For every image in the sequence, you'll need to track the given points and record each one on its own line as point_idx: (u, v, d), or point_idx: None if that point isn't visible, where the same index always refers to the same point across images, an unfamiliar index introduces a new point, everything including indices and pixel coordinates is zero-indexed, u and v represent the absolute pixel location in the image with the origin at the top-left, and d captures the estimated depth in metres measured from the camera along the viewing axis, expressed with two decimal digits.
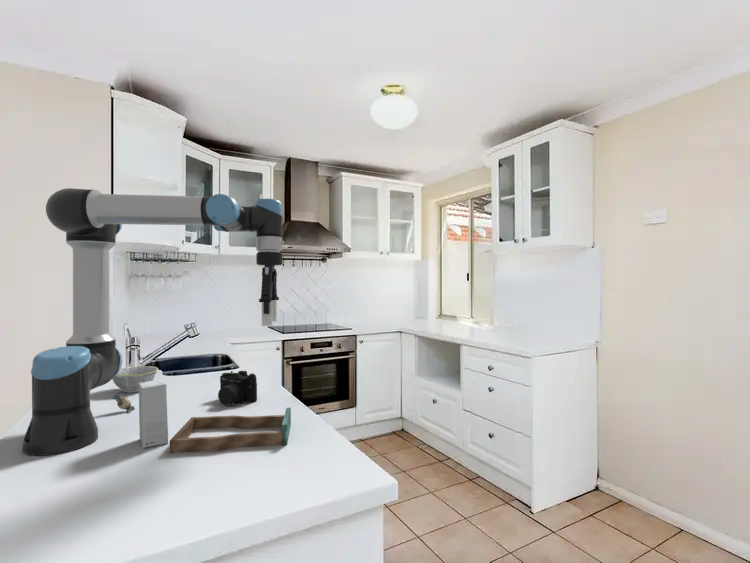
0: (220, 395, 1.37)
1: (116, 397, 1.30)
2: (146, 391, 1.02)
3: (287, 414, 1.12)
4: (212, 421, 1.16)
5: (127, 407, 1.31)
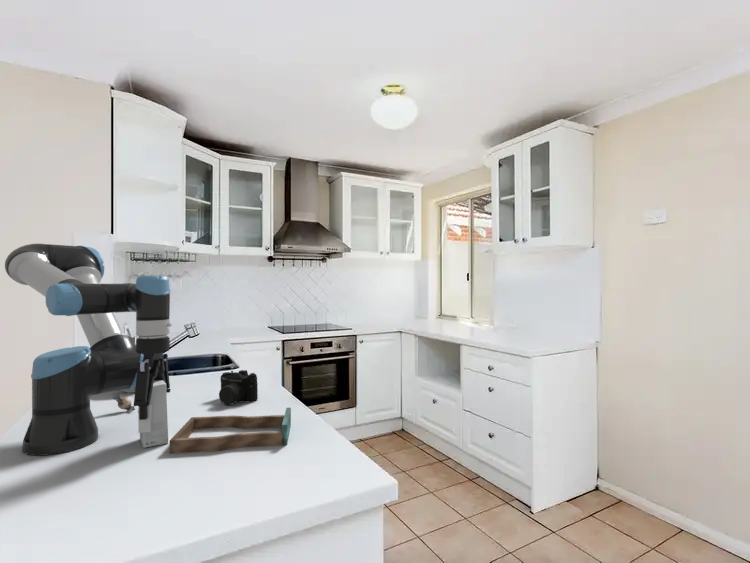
0: (221, 395, 1.37)
1: (116, 397, 1.30)
2: None
3: (287, 414, 1.12)
4: (212, 421, 1.16)
5: (127, 407, 1.31)
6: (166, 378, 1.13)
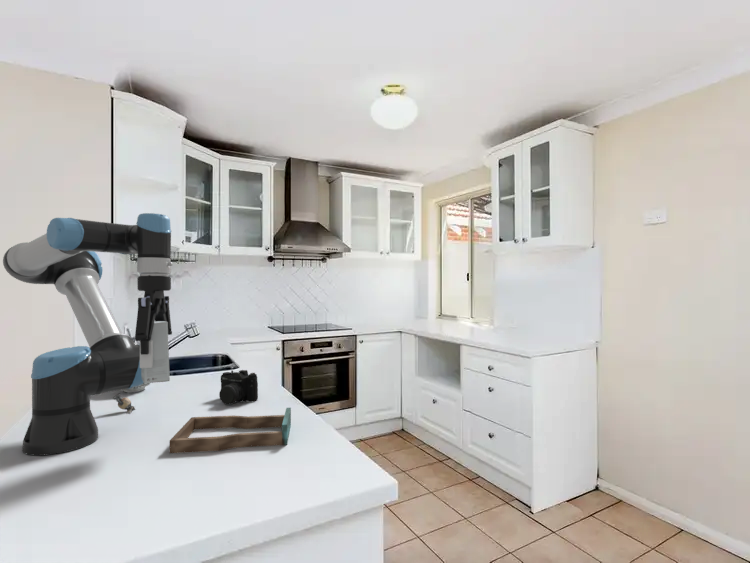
0: (222, 394, 1.38)
1: (117, 397, 1.29)
2: None
3: (287, 414, 1.12)
4: (212, 421, 1.16)
5: (128, 407, 1.31)
6: (168, 320, 1.13)
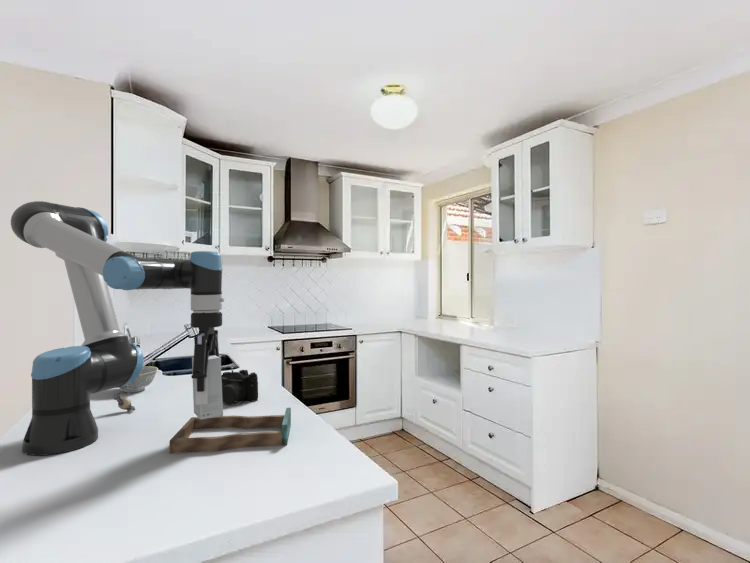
0: (222, 394, 1.38)
1: (117, 397, 1.29)
2: None
3: (287, 414, 1.12)
4: (212, 421, 1.16)
5: (128, 407, 1.31)
6: (216, 354, 1.15)
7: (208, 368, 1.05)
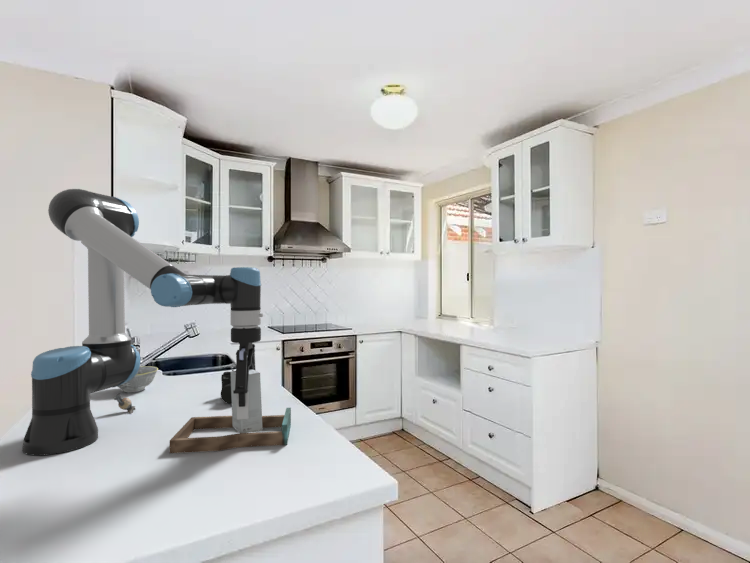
0: (223, 394, 1.39)
1: (117, 398, 1.29)
2: None
3: (287, 414, 1.12)
4: (212, 421, 1.16)
5: (128, 407, 1.30)
6: (253, 368, 1.16)
7: (248, 383, 1.06)
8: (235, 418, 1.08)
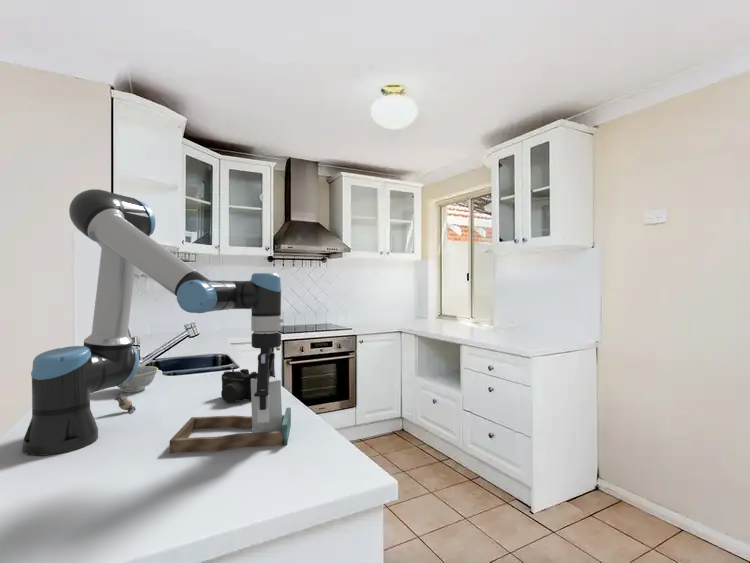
0: (224, 393, 1.39)
1: (118, 398, 1.29)
2: None
3: (287, 414, 1.12)
4: (212, 421, 1.16)
5: (129, 408, 1.30)
6: (273, 369, 1.18)
7: (269, 391, 1.07)
8: (256, 425, 1.09)
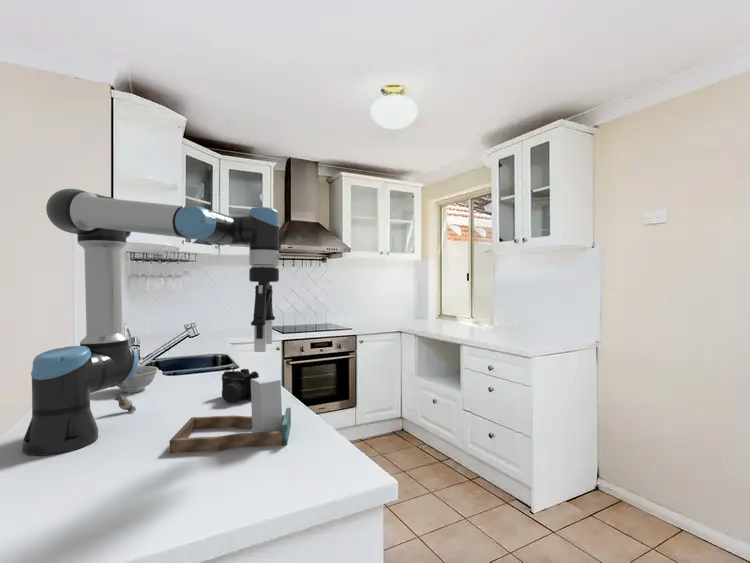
0: (224, 393, 1.40)
1: (118, 398, 1.29)
2: (264, 387, 1.06)
3: (287, 414, 1.12)
4: (212, 421, 1.16)
5: (129, 408, 1.30)
6: (271, 308, 1.19)
7: (269, 391, 1.07)
8: (256, 425, 1.09)
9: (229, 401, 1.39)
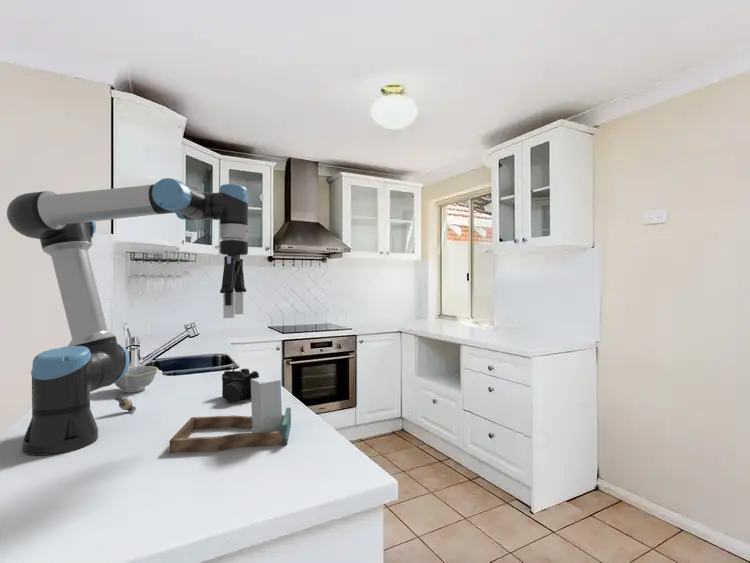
0: (225, 393, 1.40)
1: (118, 398, 1.29)
2: (264, 387, 1.06)
3: (287, 414, 1.12)
4: (212, 421, 1.16)
5: (129, 408, 1.30)
6: (242, 280, 1.26)
7: (269, 391, 1.07)
8: (256, 425, 1.09)
9: (229, 401, 1.39)
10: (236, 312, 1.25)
